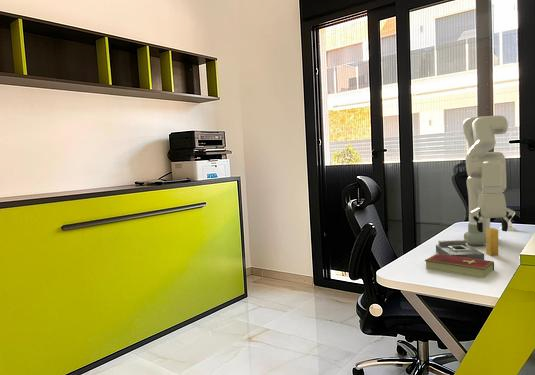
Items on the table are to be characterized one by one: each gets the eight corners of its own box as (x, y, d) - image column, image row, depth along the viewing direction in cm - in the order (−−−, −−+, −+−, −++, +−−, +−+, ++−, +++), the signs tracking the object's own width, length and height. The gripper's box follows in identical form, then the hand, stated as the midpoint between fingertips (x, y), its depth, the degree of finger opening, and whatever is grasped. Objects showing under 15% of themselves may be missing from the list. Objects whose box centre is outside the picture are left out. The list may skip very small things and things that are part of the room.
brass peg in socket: (486, 253, 174) (485, 228, 174) (493, 253, 174) (493, 227, 173) (490, 256, 170) (490, 230, 169) (498, 255, 170) (498, 229, 169)
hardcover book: (437, 263, 165) (437, 252, 165) (494, 271, 151) (494, 260, 150) (424, 270, 157) (424, 259, 157) (483, 279, 142) (483, 268, 142)
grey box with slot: (435, 251, 182) (435, 240, 181) (466, 250, 181) (465, 239, 180) (450, 262, 164) (450, 250, 163) (484, 261, 163) (484, 249, 162)
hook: (527, 219, 217) (520, 213, 214) (514, 238, 218) (506, 232, 215) (515, 215, 224) (508, 209, 221) (502, 232, 225) (495, 227, 222)
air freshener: (488, 247, 185) (488, 225, 184) (468, 247, 186) (468, 225, 186) (481, 241, 195) (481, 221, 194) (462, 241, 197) (462, 221, 196)
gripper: (509, 189, 173) (509, 229, 174) (466, 190, 174) (467, 230, 175) (518, 190, 165) (518, 232, 166) (474, 192, 167) (474, 233, 168)
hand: (492, 231), depth 171 cm, fingers open, 9 cm apart
